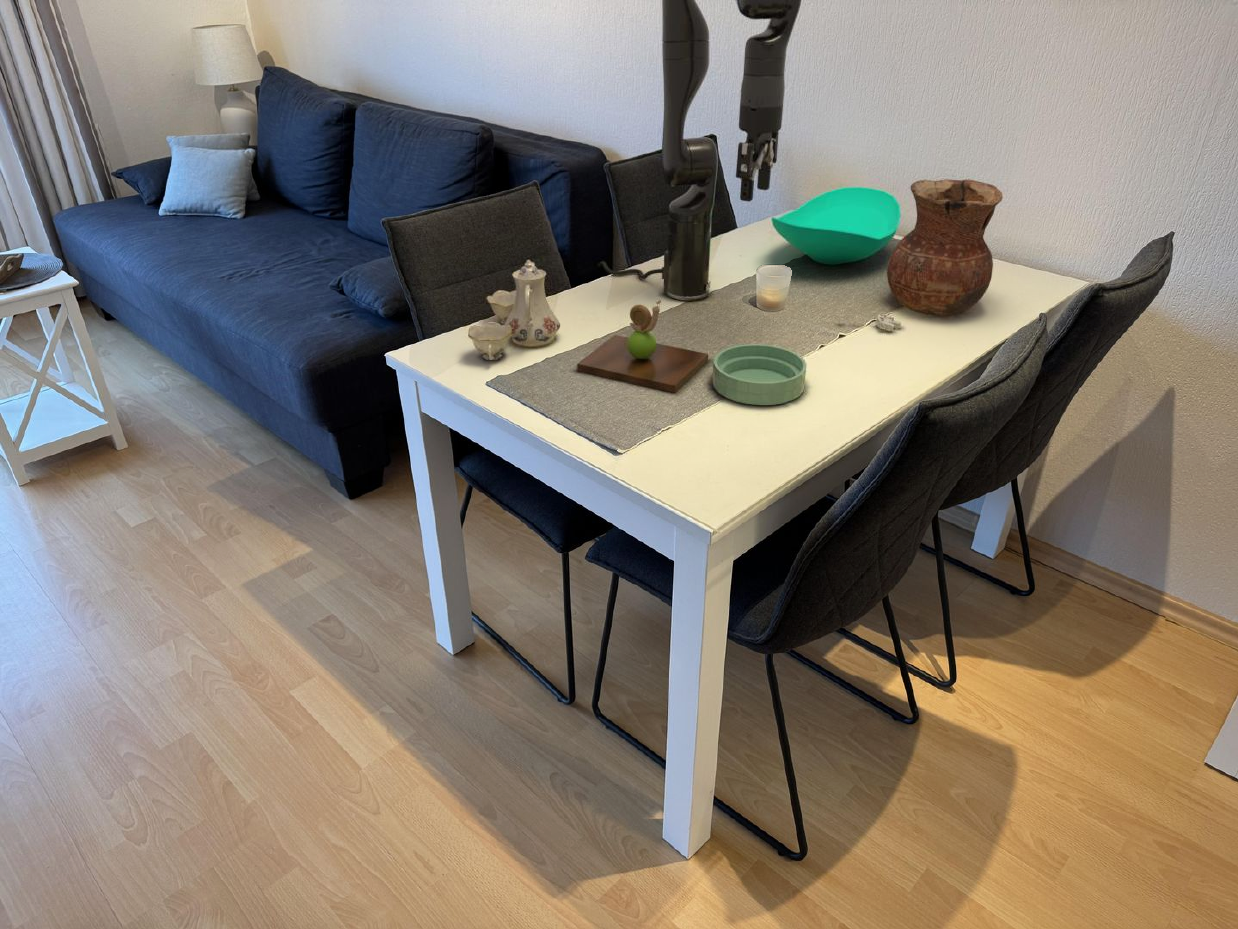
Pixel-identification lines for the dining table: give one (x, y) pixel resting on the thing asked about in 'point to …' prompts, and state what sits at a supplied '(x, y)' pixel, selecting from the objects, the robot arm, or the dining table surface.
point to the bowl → (759, 374)
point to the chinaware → (517, 316)
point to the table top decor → (842, 224)
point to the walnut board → (644, 364)
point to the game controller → (886, 322)
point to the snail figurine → (642, 331)
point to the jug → (945, 248)
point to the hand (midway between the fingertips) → (754, 194)
